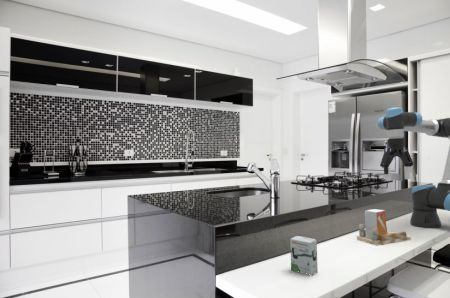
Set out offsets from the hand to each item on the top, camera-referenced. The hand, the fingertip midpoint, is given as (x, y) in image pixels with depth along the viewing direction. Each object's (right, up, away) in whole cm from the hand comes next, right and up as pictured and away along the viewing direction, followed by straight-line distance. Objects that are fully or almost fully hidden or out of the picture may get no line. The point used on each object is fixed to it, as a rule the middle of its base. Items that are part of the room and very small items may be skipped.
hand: (397, 180), depth 156 cm
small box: (-14, -27, -6) cm, 32 cm away
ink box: (-59, -29, -44) cm, 79 cm away
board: (-10, -29, -5) cm, 31 cm away
